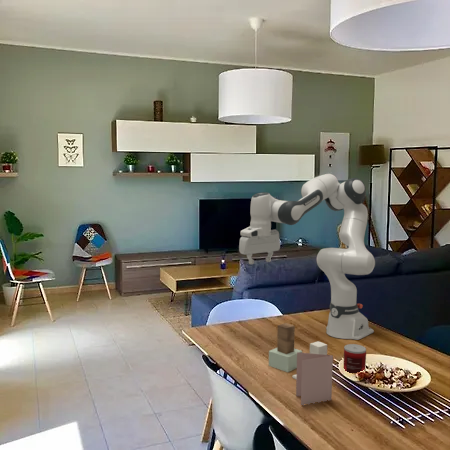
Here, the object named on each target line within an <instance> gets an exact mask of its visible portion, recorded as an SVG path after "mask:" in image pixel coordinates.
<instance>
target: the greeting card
mask: <svg viewBox="0 0 450 450" xmlns="http://www.w3.org/2000/svg"><path fill="white" fill-rule="evenodd" d="M333 356H334V355H331V354H327V355H322V354H311V353H310V352H302V353H300V352H297V368H296V374H297V378H296V379H295V380H296V385H295V386H296V387H295V397H300V396H301V397H300V406H301V405H303V406H305V405H304V404H308V405H311V404H310V403H313V404H316V403H315V402H318V403H322V402H321V401H323V402H328V401H332V391H333V367H334V366H333V363H334V359H333V358H334V357H333ZM327 400H328V401H327Z"/></svg>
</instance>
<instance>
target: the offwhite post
mask: <svg viewBox="0 0 450 450" xmlns="http://www.w3.org/2000/svg"><path fill="white" fill-rule="evenodd" d="M309 353H311V354H322V355H328V344H326V343H324V342H321V341H315V342H311V343H309Z"/></svg>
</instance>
